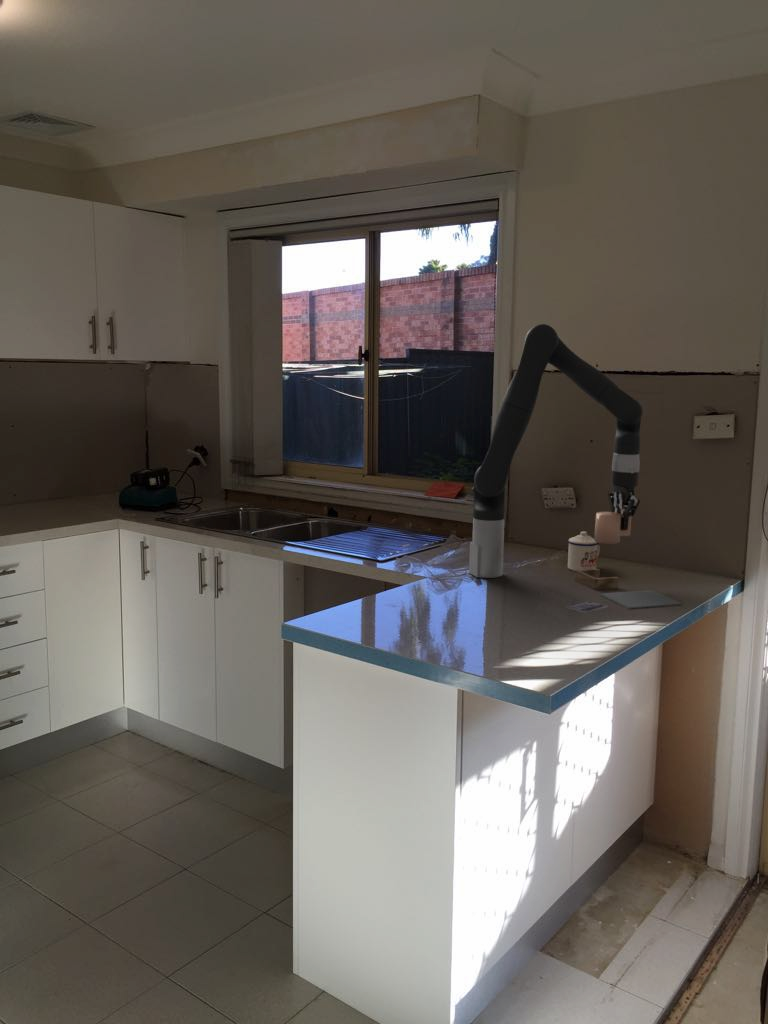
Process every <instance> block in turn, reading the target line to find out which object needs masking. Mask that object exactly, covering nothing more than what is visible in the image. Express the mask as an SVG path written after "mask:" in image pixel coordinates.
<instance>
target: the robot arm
mask: <svg viewBox="0 0 768 1024" xmlns="http://www.w3.org/2000/svg"><path fill="white" fill-rule="evenodd" d="M522 347H523V349H522V352H521V355H520V359H519V363H518V366H517V368H516V370H515V373H514V374H513V377H512V379H511V381H510V383H509V384H508V385H509V386H508V387H507V390H506V392H505V394H504V397H503V399H502V401H501V404H500V406H499V409H498V413H497V416H496V419H495V422H494V425H493V426H494V427H493V431H492V437H491V440H490V445H489V447H488V450H487V452H486V454H485V457H484V460H483V462H482V464H481V465H480V466H479V467H478V468H477V469H476V471H475V473H474V479H473V505H472V506H473V507H472V508H473V509H472V512H473V515H472V516H473V520H472V541H470V542H469V559H468V561H469V563H468V564H469V565H468V573H469V574H471V575H472V576H473V577H475V578H484V579H485V578H486V579H487V578H489V579H491V578H493V579H495V578H499V577H503V571H504V544H505V541H504V540H505V539H504V538H505V519H506V518H505V513H506V503H505V502H506V484H507V481H508V480H507V479H508V475H509V472H510V468H511V465H512V462H513V458H514V455H515V453H516V451H517V449H518V447H519V445H520V443H521V441H522V439H523V436H524V435H525V433H526V431H527V427H528V426H529V424H530V423H529V422H530V420H531V418H532V415H533V412H534V409H535V407H536V404H537V403H536V402H537V399H538V396H539V390H540V386H541V381H542V378H543V375H544V372H545V370H546V368H547V365H548V364H550V365H551V366H553V367H554V368H555V369H557V370H558V371H560V372H561V373H563V374H564V375H565V376H566V377H567V378H568V379H570V380H571V381H572V382H573V383H574V384H575V385H576V386H577V387H578V388H579V389H580V390H581V391H583V392H584V393H585V394H587V396H589V397H590V398H591V399H593V400H594V401H595V402H597V403H598V404H600V405H601V406H602V407H604V409H606V410H607V411H608V412H609V413H610V414H611V415H613V416H614V417H615V436H614V442H613V456H612V462H611V474H610V475H611V477H610V485H611V486H612V487H613V491H612V492H608V493H607V496H608V497H607V498H608V503H609V506H610V507H609V508H610V512H615V513H620V514H621V527H620V530H627V529H628V520H629V517H630V516H632V517H634V516H635V513H636V512H637V509H638V507H639V505H640V503H641V500H640V499H639V498H636V496H635V488H636V487H638V486H639V476H640V466H641V465H640V464H641V462H640V450H641V436H640V432H641V421H642V416H643V413H644V411H643V410H644V409H643V406H642V405H641V403H640V402H639V401H638V400H637V399H635V398H633V397H632V396H631V395H629V394H628V393H626V391H624V390H623V389H621V388H619V386H618V384H616V383H615V382H614V381H612V380H611V379H610V378H609V377H608V376H606V375H605V374H604V373H603V372H602V371H600V370H599V369H597V368H596V367H594V366H593V365H591V364H590V363H588V362H587V361H585V360H584V359H582V358H581V357H580V356H578V355H577V354H575V352H573V351H572V350H571V349H570V348H569V347H568V346H567V344H565V343H564V342H563V341H562V339H561V338H560V337H559V334H558V333H557V331H556V329H554V328H553V327H552V326H550V325H549V324H545V323H540V324H537V325H534V326H533V327H531V328H530V329H529V330H528V332H527V333H526V336H525V339H524V343H523V346H522Z"/></svg>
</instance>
